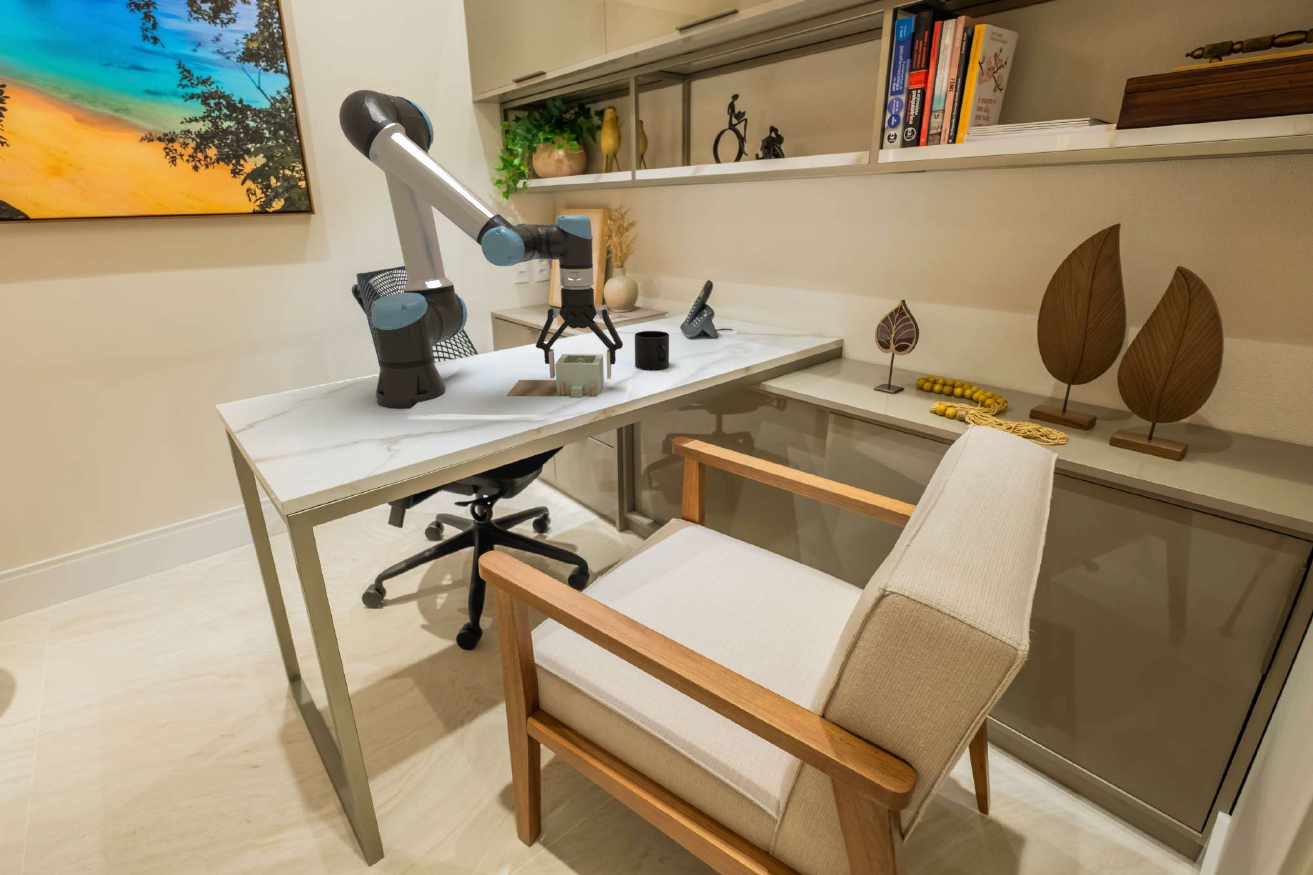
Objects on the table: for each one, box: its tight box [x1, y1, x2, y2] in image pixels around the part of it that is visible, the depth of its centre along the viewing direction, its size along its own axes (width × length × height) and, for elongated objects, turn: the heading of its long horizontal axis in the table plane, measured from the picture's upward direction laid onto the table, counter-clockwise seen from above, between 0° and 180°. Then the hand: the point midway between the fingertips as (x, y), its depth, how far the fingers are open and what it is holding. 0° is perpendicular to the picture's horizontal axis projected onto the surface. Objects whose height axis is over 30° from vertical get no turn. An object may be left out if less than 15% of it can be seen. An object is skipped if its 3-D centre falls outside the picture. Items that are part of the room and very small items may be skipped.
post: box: [575, 358, 586, 363], centre depth 150 cm, size 2×2×7 cm
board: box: [505, 379, 598, 398], centre depth 151 cm, size 21×13×4 cm, turn 89°
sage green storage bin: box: [555, 353, 605, 398], centre depth 149 cm, size 13×10×7 cm
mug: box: [634, 330, 670, 371], centre depth 172 cm, size 9×12×9 cm
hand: (581, 377), depth 150 cm, fingers open, 13 cm apart
